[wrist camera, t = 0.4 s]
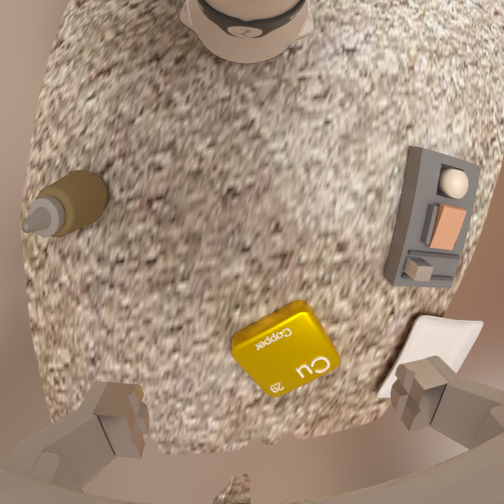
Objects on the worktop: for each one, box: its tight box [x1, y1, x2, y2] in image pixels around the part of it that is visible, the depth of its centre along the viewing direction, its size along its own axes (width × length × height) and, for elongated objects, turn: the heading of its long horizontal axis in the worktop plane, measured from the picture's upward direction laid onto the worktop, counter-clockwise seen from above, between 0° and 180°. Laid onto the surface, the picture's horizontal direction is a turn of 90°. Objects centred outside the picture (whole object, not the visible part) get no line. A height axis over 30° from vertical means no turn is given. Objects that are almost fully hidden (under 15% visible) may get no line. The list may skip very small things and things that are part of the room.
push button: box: [438, 168, 468, 199], centre depth 41 cm, size 4×4×3 cm
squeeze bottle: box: [22, 170, 108, 237], centre depth 35 cm, size 8×8×18 cm
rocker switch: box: [427, 203, 467, 250], centre depth 43 cm, size 7×5×1 cm
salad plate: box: [377, 315, 483, 398], centre depth 58 cm, size 21×21×3 cm
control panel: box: [384, 146, 481, 288], centre depth 45 cm, size 22×13×6 cm, turn 174°
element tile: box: [232, 300, 340, 397], centre depth 53 cm, size 15×15×5 cm
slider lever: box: [404, 257, 434, 281], centre depth 44 cm, size 2×3×4 cm
